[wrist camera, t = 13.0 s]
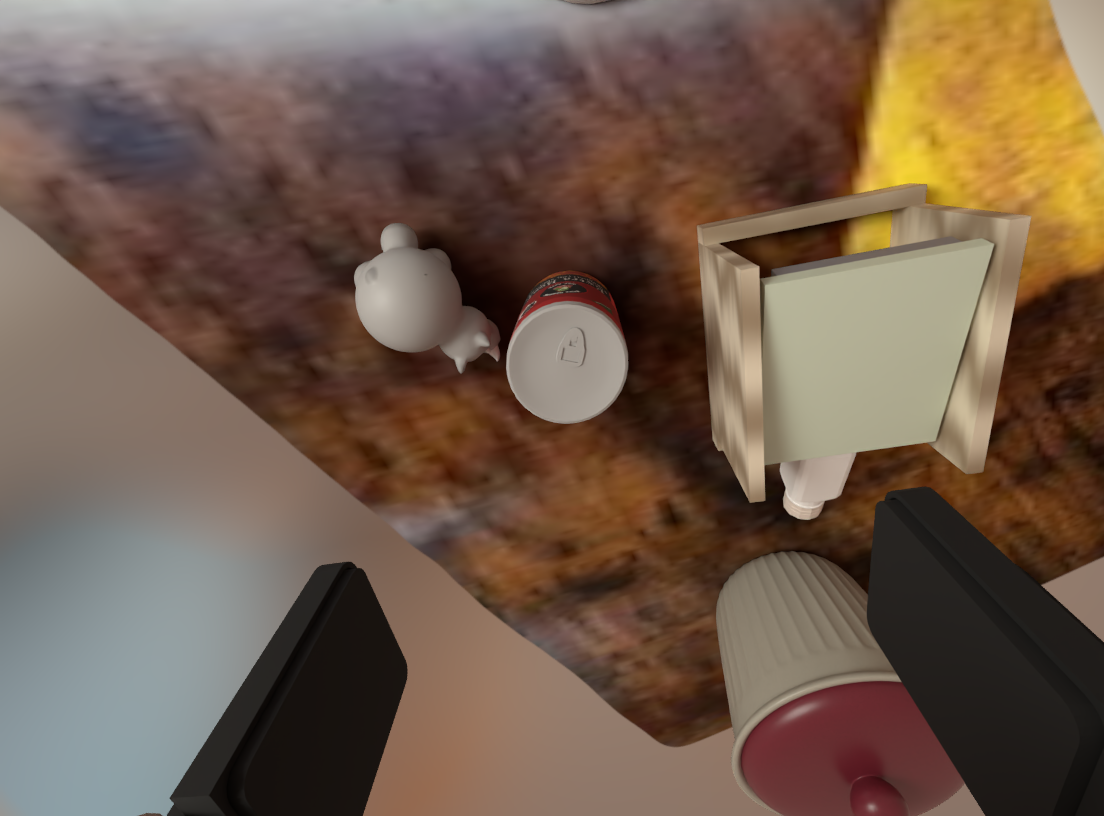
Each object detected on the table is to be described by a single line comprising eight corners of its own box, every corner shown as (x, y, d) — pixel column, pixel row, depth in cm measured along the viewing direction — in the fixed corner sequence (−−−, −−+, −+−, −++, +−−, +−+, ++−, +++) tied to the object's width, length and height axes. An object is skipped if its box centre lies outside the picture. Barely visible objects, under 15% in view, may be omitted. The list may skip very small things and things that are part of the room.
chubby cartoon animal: (462, 352, 46) (472, 416, 40) (339, 273, 39) (328, 336, 33) (517, 297, 43) (537, 356, 37) (396, 201, 36) (396, 254, 30)
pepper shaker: (806, 456, 39) (786, 526, 45) (861, 450, 38) (834, 521, 45) (787, 419, 42) (771, 489, 48) (838, 413, 41) (816, 484, 48)
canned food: (614, 264, 39) (627, 298, 29) (618, 361, 43) (631, 421, 33) (516, 272, 40) (496, 308, 30) (527, 367, 43) (513, 428, 34)
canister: (740, 673, 59) (818, 918, 40) (656, 574, 53) (701, 806, 34) (897, 608, 53) (1075, 855, 34) (824, 490, 47) (989, 710, 28)
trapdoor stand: (697, 225, 38) (739, 248, 28) (909, 183, 36) (1035, 191, 26) (712, 439, 46) (750, 516, 36) (888, 413, 44) (980, 487, 34)
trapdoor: (754, 272, 31) (765, 285, 29) (970, 232, 29) (994, 243, 28) (749, 448, 39) (757, 466, 37) (918, 423, 37) (935, 441, 36)
